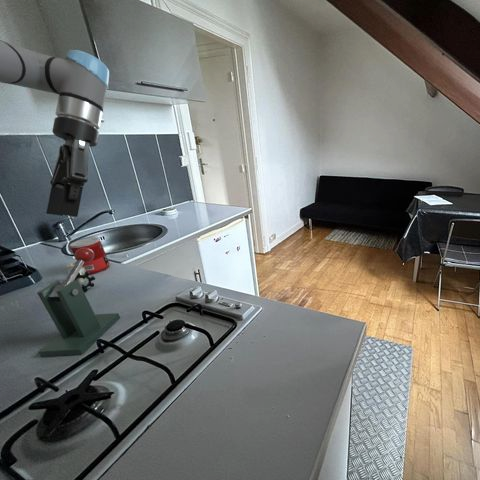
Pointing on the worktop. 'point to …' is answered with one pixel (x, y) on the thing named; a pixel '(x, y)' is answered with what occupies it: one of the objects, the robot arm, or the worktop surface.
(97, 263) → the canned food
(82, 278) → the valve
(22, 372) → the worktop surface
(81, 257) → the lever
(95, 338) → the bracket
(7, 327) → the worktop surface
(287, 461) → the worktop surface
